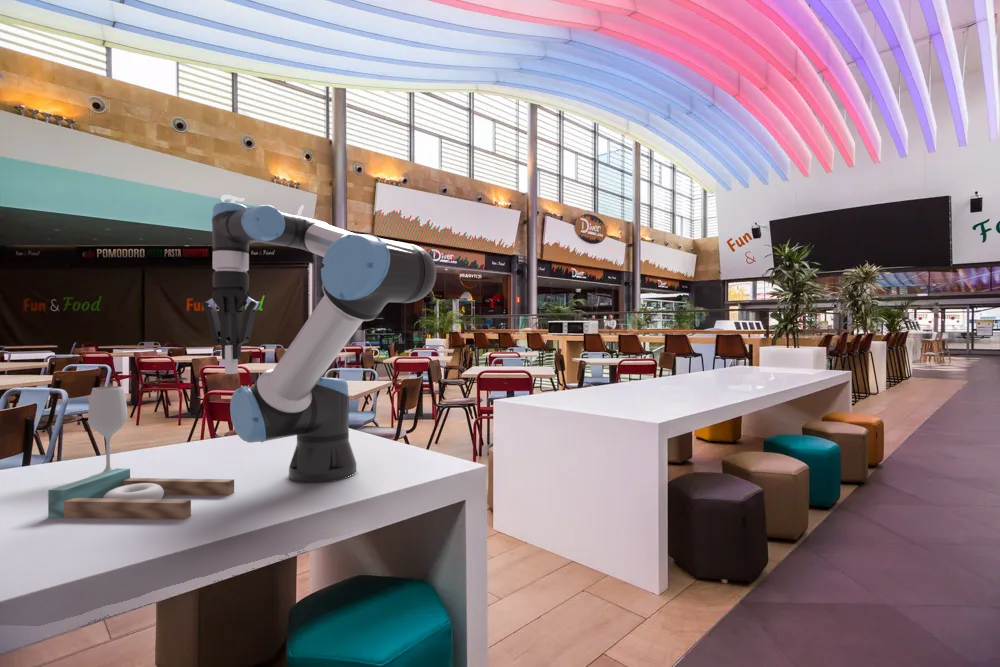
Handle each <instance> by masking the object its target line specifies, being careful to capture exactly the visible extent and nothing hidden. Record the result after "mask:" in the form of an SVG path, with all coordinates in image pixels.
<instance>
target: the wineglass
mask: <svg viewBox="0 0 1000 667" xmlns="http://www.w3.org/2000/svg"><path fill="white" fill-rule="evenodd" d="M88 402H89V403H88V411H87V420H88V423H89V426H90V427H91V428H92V430H94V431H95V432H97V434H100V436H103V437H104V438H105V444H106V445H105V450H106V451H105V452H106V453H105V454H106V455H105V458H106V459H105V460H106V463H105V468H104V470H103V471H101V472H97V473H93V474H91V475H89V477H91V476H95V475H98V474H101V473H104V472H107V471H110V470H113V468H112V467H111V454H110V453H111V439H112V436H113V435H115V434H116V433H117V432H118V431H119V430H120V429H121V428H122V427H123V426H124V425H125V423H126V422H127V419H128V406H127V398H126V394H125V389H124V386H98V387H92V388H91V392H90V398H89V401H88Z"/></svg>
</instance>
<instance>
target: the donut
mask: <svg viewBox="0 0 1000 667" xmlns="http://www.w3.org/2000/svg"><path fill="white" fill-rule="evenodd" d="M164 496H165V495H164V490H163V488H162V487H161V486H160V485H157V484H153V483H139V484H131V485H126V486H121V487H118V488H115V489H112V490H110V491H109V492H107V493H106V494H105V495H104V497H103V498H108V499H162V498H163V497H164Z"/></svg>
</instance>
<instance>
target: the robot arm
mask: <svg viewBox="0 0 1000 667" xmlns="http://www.w3.org/2000/svg"><path fill="white" fill-rule="evenodd" d="M211 224H212V226H211V227H212V228H211V231H212V233H211V234H212V239H211V240H212V269H213V270H214V271H213V273H212V287H213V293H212V294H211V298H210V299H208V300H207V301H202V302H201V306H202V308H203V309H204V311H205V312H206V317H207V321H208V325H209V330H210V335H211V339H212V341H213V343H216V344H219V345H220V346H221V359H222V360H224V369H225V370H224V375H234V374H239V360H240V359H241V358H242V345H243V344H246V343H249V342H250V340H251V334H252V331H253V326H254V323H255V319H256V318H255V317H256V313H257V311H258V310H259V308H260V306H261V302H259V301H256V300H255V299H253V298H251V295H250V294H251V293H250V292H249V288H250V274H248V271H249V270H250V267H249V266H250V254H249V251H250V244H254V243H260V244H261V243H262V244H269V245H275V246H281V247H288V248H289V247H290V248H295V249H300V250H304V251H306V252H309V253H311V254H315V255H318V256H320V257H323V258H322V264H323V267H322V268H321V269H320V276H321V281H322V284H321V286H322V293H323V294H324V295H323V297H322V298H321V299H320V301H319V302H318V304H317V305H316V307H315V308H314V310H313V312H311V314H310V316H309V317H308V319H307V320H306V321H305V323H304V324H303V326H302V327H301V328H300V330H299V331H298V333H297V335H296V336H295V338H294V339H293V341H291V343H290V345H289V346H288V348H287V349H286V351H285V352H284V354H282V357H281V358H280V359H279V361H278V362H277V364H276V365H275V366H274V368H269V369H267V370H265V371H264V372H262V373H261V374H260V375H259V376H258V378H257V379H256V380H255V382H254V384H253V385H251V386H245V385H244V386H242V387H239V388H236V390H235V391H234V392H233V394H232V396H231V398H230V406H229V410H230V411H229V412H230V419H231V423H232V426H233V428H234V431H235V433H236V435H237V436H238V437H239V438H240V439H241V440H242V441H243V442H247V443H251V444H252V443H264V442H267V441H268V442H269V441H272V440H277V439H285V438H288V437H289V438H290V437H293V436H296V446H295V448H294V452H293V454H292V458H291V461H290V464H289V467H288V479H289V480H291V481H293V482H296V483H303V484H306V483H308V484H309V483H310V484H313V483H314V484H315V483H316V484H318V483H319V484H320V483H328V482H329V483H330V482H335V481H334V480H336V481H340V480H339V479H341V480H343V479H342V478H345V477H348V476H350V475H352V474H354V473H355V472H356V473H357V461H356V458H355V455H354V451H353V449H352V446H351V443H350V440H349V438H350V436H349V435H350V434H349V433H350V431H349V430H350V429H349V428H350V425H349V424H350V423H349V421H350V420H349V419H350V418H349V416H350V415H349V414H350V413H349V412H350V410H349V408H350V405H349V404H350V403H349V400H350V395H349V385H348V382H347V381H346V380H345V379H343V378H337V377H323V376H324V374H325V373H326V371H327V370H328V369H329V368H330V366H331V365H332V364H333V362H334V361H335V360H336V358H337V357H338V355H339V354H340V353H341V352H342V351H343V349H344V347H345V346H346V345H347V343H348V342H349V341H350V340H351V338H352V337H353V336H354V334H355V333H356V332H357V330H358V328H360V326H361V325H362V324H363V322H370V321H374V320H375V319H376V318H377V317H378V316H379V314H380V313H381V312H382V311H383V309H384V307H385V306H386V305H387V304H388V303H399V304H410V303H411V304H412V303H414V302H418V301H420V300H422V299H423V298H425V297H426V296H427V295H428V294H430V292H431V291H432V289H433V288H434V286H435V283H436V281H437V267H436V264H435V261H434V259H433V257H432V255H431V254H429V252H428V251H426V250H425V249H424V248H423V247H420V246H418V245H416V244H413V243H408V242H402V241H398V240H397V241H396V240H392V239H387V238H386V239H385V238H381V237H378V236H376V235H373V234H370V233H369V234H368V233H364V234H363V233H362V234H360V233H354V232H351V231H348V230H346V229H342V228H339V227H336V226H333V225H331V224H328V222H326V221H322V220H320V219H316V218H310V217H305V216H299V215H295V214H294V215H293V214H290V213H285V212H281V211H280V210H278V209H277V208H276V207H275V206H273V205H270V204H257V205H252V206H250V207H247V206H246V205H244V204H242V203H237V202H231V201H229V202H227V201H226V202H217V203H215V204H213V208H212V217H211ZM245 307H246V308H245ZM217 308H218V310H217ZM244 308H245V311H244ZM354 475H355V474H354ZM348 478H349V477H348ZM345 479H346V478H345Z"/></svg>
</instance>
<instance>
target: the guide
mask: <svg viewBox="0 0 1000 667" xmlns="http://www.w3.org/2000/svg"><path fill="white" fill-rule="evenodd" d="M100 473H101V472H100ZM90 476H91V475H90ZM139 483H153V484H157V485H160V486H161V487H162V488H163V490H164V495H163V496H227V497H229V496H230V495H232V494H234V493H235V478H234V479H232V478H231V479H230V478H229V479H227V478H226V479H225V478H224V479H223V478H217V479H216V478H163V477H161V478H157V477H155V478H150V477H148V478H145V477H143V478H142V477H141V478H140V477H131V468H114V469H112V470H110V471H107V472H104V473H101V474H98V475H95V476H91V477H85V478H82V479H79V480H76V481H73V482H70V483H67V484H62V485H59V486H57V487H53V488H50V489H48V490H47V499H48V500H47V501H48V502H47V503H48V508H47V510H48V511H47V512H48V513H47V514H48V518H55V519H56V518H57V519H58V518H62V519H63V518H64V519H72V518H73V519H121V520H122V519H129V520H130V519H135V520H136V519H137V520H141V519H142V520H185V519H187V518H189V517H191V516H192V500H191V499H108V498H103V497H104V495H105V494H106V493H107V492H109V491H110V490H112V489H115V488H118V487H121V486H126V485H131V484H139Z"/></svg>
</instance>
